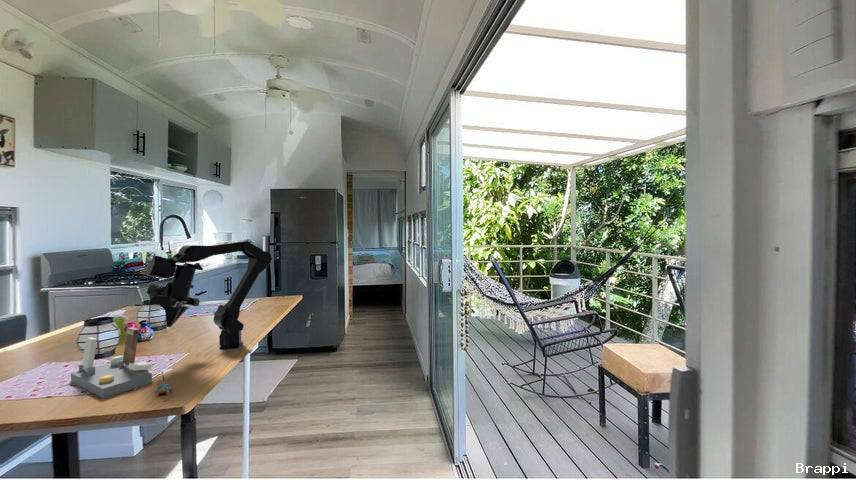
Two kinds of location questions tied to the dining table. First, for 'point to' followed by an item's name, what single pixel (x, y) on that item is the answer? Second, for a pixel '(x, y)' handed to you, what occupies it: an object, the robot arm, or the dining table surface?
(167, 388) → the bomb figurine
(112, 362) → the button
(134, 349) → the paddle walnut
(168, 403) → the dining table surface
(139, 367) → the rocker
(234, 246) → the robot arm
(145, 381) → the console
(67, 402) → the dining table surface
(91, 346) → the lever grey
